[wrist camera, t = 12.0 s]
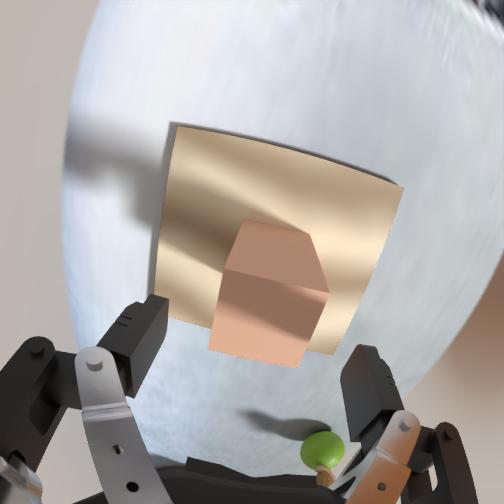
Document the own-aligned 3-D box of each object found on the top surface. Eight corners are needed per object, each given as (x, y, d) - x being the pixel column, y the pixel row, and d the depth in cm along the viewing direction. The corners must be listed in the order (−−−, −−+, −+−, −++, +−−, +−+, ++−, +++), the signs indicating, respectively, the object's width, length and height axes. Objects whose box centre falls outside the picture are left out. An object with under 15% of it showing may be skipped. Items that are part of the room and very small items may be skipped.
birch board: (182, 126, 18) (177, 126, 17) (398, 185, 18) (403, 188, 17) (156, 305, 24) (152, 311, 23) (331, 347, 24) (333, 355, 23)
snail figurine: (313, 449, 31) (316, 522, 20) (292, 431, 29) (291, 515, 18) (350, 437, 30) (360, 512, 18) (332, 418, 28) (342, 506, 17)
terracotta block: (244, 218, 19) (223, 268, 12) (309, 234, 19) (329, 293, 12) (231, 277, 21) (208, 349, 13) (291, 292, 21) (297, 368, 13)
